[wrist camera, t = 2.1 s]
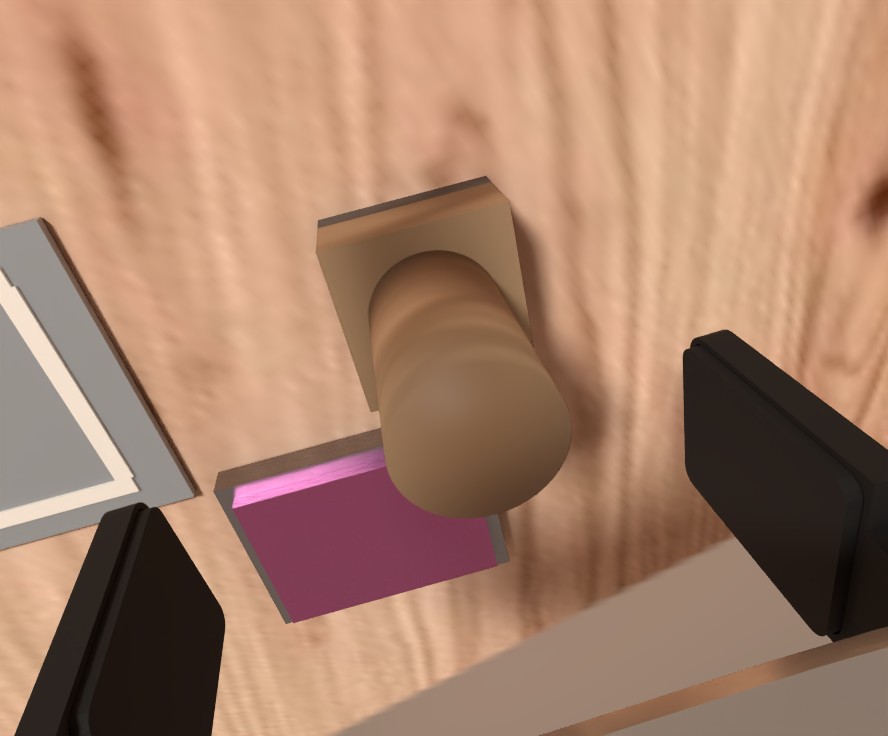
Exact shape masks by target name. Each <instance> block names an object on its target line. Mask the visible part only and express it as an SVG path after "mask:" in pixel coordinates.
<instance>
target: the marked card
mask: <svg viewBox="0 0 888 736" xmlns="http://www.w3.org/2000/svg"><path fill="white" fill-rule="evenodd" d="M195 493H196V490H195V488H194V487H193V485H192V483H191V481H190V480H189V478H188V476H187V474H186V472H185V471H184V469H183V467H182V465H181V464H180V462H179V460H178V458H177V457H176V455H175V453H174V451H173V449H172V448H171V446H170V444H169V442H168V441H167V439H166V437H165V435H164V434H163V432H162V430H161V428H160V427H159V425H158V423H157V421H156V419H155V418H154V416H153V414H152V412H151V411H150V409H149V407H148V405H147V404H146V402H145V400H144V398H143V397H142V395H141V393H140V391H139V389H138V388H137V386H136V384H135V382H134V381H133V379H132V377H131V375H130V374H129V372H128V370H127V368H126V366H125V365H124V363H123V361H122V359H121V358H120V356H119V354H118V352H117V351H116V349H115V347H114V345H113V344H112V342H111V340H110V338H109V336H108V335H107V333H106V331H105V329H104V328H103V326H102V324H101V322H100V321H99V319H98V317H97V315H96V314H95V312H94V310H93V308H92V306H91V305H90V303H89V301H88V299H87V298H86V296H85V294H84V292H83V291H82V289H81V287H80V285H79V283H78V282H77V280H76V278H75V276H74V275H73V273H72V271H71V269H70V268H69V266H68V264H67V262H66V261H65V259H64V257H63V255H62V253H61V252H60V250H59V248H58V246H57V245H56V243H55V241H54V239H53V238H52V236H51V234H50V232H49V231H48V229H47V227H46V225H45V223H44V222H43V220H42V218H41V217H40V218H36V219H32V220H28V221H25V222H21V223H17V224H13V225H9V226H6V227H2V228H0V550H2V549H6V548H9V547H13V546H17V545H20V544H24V543H28V542H31V541H35V540H39V539H42V538H46V537H49V536H53V535H57V534H60V533H64V532H68V531H71V530H75V529H79V528H82V527H86V526H90V525H93V524H97V523H100V520H101V518H102V516H103V515H104V514H105V513H106V512H108V511H111V510H115V509H118V508H121V507H125V506H128V505H132V504H135V503H138V502H143V503H145V504H146V505H147V506H148V507H149V508H152V507H159V506H162V505H166V504H170V503H173V502H177V501H181V500H184V499H188V498H192V497H194V496H195Z"/></svg>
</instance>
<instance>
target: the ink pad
mask: <svg viewBox="0 0 888 736" xmlns="http://www.w3.org/2000/svg"><path fill="white" fill-rule="evenodd" d="M214 493H215V495H216V497H217V499H218V501H219V502H220V504H221V506H222V508H223V510H224V512H225V513H226V515H227V517H228V519H229V521H230V523H231V524H232V526H233V528H234V530H235V532H236V534H237V535H238V537H239V539H240V541H241V543H242V544H243V546H244V548H245V550H246V552H247V554H248V555H249V557H250V559H251V561H252V563H253V565H254V566H255V568H256V570H257V572H258V574H259V576H260V577H261V579H262V581H263V583H264V585H265V587H266V588H267V590H268V592H269V594H270V596H271V597H272V599H273V601H274V603H275V605H276V607H277V608H278V610H279V612H280V614H281V616H282V618H283V619H284V621H285V623H286V624H287V623H291V622H293V623H296V622H299V621H303V620H306V619H310V618H313V617H317V616H321V615H324V614H328V613H331V612H335V611H338V610H342V609H346V608H349V607H353V606H356V605H360V604H363V603H367V602H371V601H374V600H378V599H381V598H385V597H388V596H392V595H396V594H399V593H403V592H406V591H410V590H413V589H417V588H421V587H424V586H428V585H431V584H435V583H438V582H442V581H446V580H449V579H453V578H456V577H460V576H463V575H467V574H471V573H474V572H478V571H481V570H485V569H488V568H492V567H496V566H498V564H502V563H505V562H509V558H508V554H507V549H506V545H505V541H504V537H503V533H502V528H501V524H500V520H499V516H498V514H495V515H491V516H486V517H480V518H463V519H462V518H450V517H445V516H440V515H437V514H434V513H430V512H428V511H426V510H424V509H421V508H419V507H418V506H416V505H415V504H413V503H411V502H410V501H409V500H408V499H407V498H405V497H404V496H403V495H402V494H401V493H400V491H399V490H398V489H397V488H396V486H395V485H394V483H393V482H392V480H391V478H390V475H389V473H388V470H387V467H386V463H385V455H384V447H383V438H382V430H381V428H379V429H376V430H372V431H369V432H365V433H361V434H358V435H354V436H350V437H347V438H343V439H339V440H336V441H332V442H328V443H325V444H321V445H317V446H314V447H310V448H306V449H303V450H299V451H295V452H292V453H288V454H284V455H281V456H277V457H274V458H270V459H266V460H263V461H259V462H255V463H252V464H248V465H244V466H241V467H237V468H233V469H230V470H226V471H222V472H219V473H218V476H217V480H216V484H215V488H214Z"/></svg>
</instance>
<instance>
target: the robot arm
mask: <svg viewBox="0 0 888 736" xmlns="http://www.w3.org/2000/svg"><path fill="white" fill-rule="evenodd" d="M683 389H684V434H685V466H686V471H687V474H688V477H689V479H690V481H691V482H692V484H693V485H694V486H695V488H696V489H697V490H698V491H699V493H700V494H701V495H702V496H703V497H704V499H705V500H706V501H707V502H708V504H709V505H710V506H711V507H712V509H713V510H714V511H715V512H716V513H717V515H718V516H719V517H720V518H721V520H722V521H723V522H724V523H725V524H726V526H727V527H728V528H729V529H730V531H731V532H732V533H733V534H734V535H735V537H736V538H737V539H738V540H739V542H740V543H741V544H742V545H743V547H744V548H745V549H746V550H747V551H748V553H749V554H750V555H751V556H752V558H753V559H754V560H755V561H756V562H757V564H758V565H759V566H760V567H761V569H762V570H763V571H764V572H765V573H766V575H767V576H768V577H769V578H770V580H771V581H772V582H773V583H774V584H775V586H776V587H777V588H778V589H779V591H780V592H781V593H782V594H783V595H784V597H785V598H786V599H787V600H788V602H789V603H790V604H791V605H792V607H793V608H794V609H795V610H796V612H797V613H798V614H799V615H800V616H801V618H802V619H803V620H804V621H805V623H806V624H807V625H808V626H809V627H810V628H811V629H812V631H813V632H815V633H816V634H817V635H819V636H825V635H827V636H828V637H829V638H830V639H831V640H832V641H833V643H830V644H826V645H823V646H820V647H817V648H813V649H810V650H806V651H803V652H800V653H796V654H793V655H790V656H786V657H783V658H780V659H777V660H774V661H770V662H767V663H764V664H761V665H758V666H754V667H751V668H748V669H745V670H742V671H739V672H736V673H733V674H729V675H727V676H723V677H720V678H717V679H714V680H711V681H707V682H705V683H701V684H698V685H695V686H692V687H689V688H686V689H683V690H679V691H676V692H673V693H670V694H667V695H664V696H661V697H657V698H654V699H651V700H648V701H645V702H642V703H639V704H635V705H632V706H629V707H626V708H623V709H620V710H617V711H614V712H611V713H608V714H604V715H601V716H598V717H595V718H592V719H589V720H586V721H583V722H580V723H577V724H574V725H571V726H568V727H564V728H561V729H558V730H555V731H552V732H549V733H546V734H543V735H540V736H888V450H887V449H886V448H884V447H883V446H882V445H880V444H879V443H878V442H877V441H875V440H874V439H873V438H871V437H870V436H869V435H867V434H866V433H865V432H863V431H862V430H861V429H859V428H858V427H857V426H855V425H854V424H853V423H851V422H850V421H849V420H847V419H846V418H845V417H843V416H842V415H841V414H840V413H838V412H837V411H836V410H834V409H833V408H832V407H830V406H829V405H828V404H826V403H825V402H824V401H822V400H821V399H820V398H818V397H817V396H816V395H814V394H813V393H812V392H810V391H809V390H808V389H806V388H805V387H804V386H803V385H801V384H800V383H799V382H797V381H796V380H795V379H793V378H792V377H791V376H789V375H788V374H787V373H785V372H784V371H783V370H781V369H780V368H779V367H777V366H776V365H775V364H773V363H772V362H771V361H769V360H768V359H767V358H766V357H764V356H763V355H762V354H760V353H759V352H758V351H756V350H755V349H754V348H752V347H751V346H750V345H748V344H747V343H746V342H744V341H743V340H742V339H740V338H739V337H738V336H736V335H735V334H734V333H732V332H731V331H729V330H721V331H718V332H714V333H711V334H708V335H704V336H701V337H697V338H695V339H693V340H692V342H691V346H690V348H689V349H686V350H685V351H684V353H683ZM224 634H225V618H224V614H223V610H222V608H221V606H220V604H219V603H218V601H217V600H216V598H215V596H214V595H213V593H212V592H211V590H210V588H209V587H208V585H207V584H206V582H205V580H204V579H203V577H202V576H201V574H200V572H199V571H198V569H197V568H196V566H195V564H194V563H193V561H192V560H191V558H190V556H189V555H188V553H187V552H186V550H185V548H184V547H183V545H182V544H181V542H180V540H179V539H178V537H177V536H176V534H175V532H174V531H173V529H172V527H171V526H170V524H169V523H168V521H167V519H166V518H165V516H164V515H163V513H162V512H161V510H160V509H159V508H157V507H152V508H149V507H148V506H147V505H146V504H145V503H143V502H138V503H135V504H132V505H128V506H125V507H121V508H118V509H115V510H111V511H108V512H106V513H105V514H104V515H103V516H102V518H101V520H100V523H99V525H98V528H97V530H96V533H95V535H94V538H93V540H92V543H91V545H90V548H89V550H88V553H87V555H86V558H85V560H84V563H83V565H82V568H81V570H80V573H79V575H78V578H77V580H76V583H75V585H74V588H73V590H72V593H71V595H70V598H69V600H68V603H67V605H66V608H65V610H64V613H63V615H62V618H61V620H60V623H59V625H58V628H57V630H56V633H55V635H54V638H53V640H52V643H51V645H50V648H49V650H48V653H47V655H46V658H45V660H44V663H43V665H42V668H41V670H40V673H39V675H38V678H37V680H36V683H35V685H34V688H33V690H32V693H31V695H30V698H29V700H28V703H27V705H26V708H25V710H24V713H23V715H22V718H21V720H20V723H19V725H18V728H17V730H16V733H15V735H14V736H211V734H212V727H213V719H214V711H215V703H216V696H217V688H218V680H219V672H220V665H221V657H222V649H223V641H224Z"/></svg>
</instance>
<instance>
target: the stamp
mask: <svg viewBox="0 0 888 736" xmlns="http://www.w3.org/2000/svg"><path fill="white" fill-rule="evenodd" d="M316 254H317V257H318V260H319V262H320V265H321V268H322V271H323V274H324V277H325V280H326V283H327V286H328V289H329V292H330V294H331V297H332V300H333V303H334V306H335V309H336V312H337V315H338V318H339V321H340V324H341V326H342V329H343V332H344V335H345V338H346V341H347V344H348V347H349V350H350V353H351V356H352V358H353V361H354V364H355V367H356V370H357V373H358V376H359V379H360V382H361V385H362V388H363V390H364V393H365V396H366V399H367V402H368V405H369V408H370V411H371V412H374V411H378V410H379V413H380V421H381V430H382V438H383V447H384V455H385V463H386V467H387V470H388V473H389V475H390V478H391V480H392V482H393V483H394V485H395V486H396V488H397V489H398V490H399V491H400V493H401V494H402V495H403V496H404V497H405V498H407V499H408V500H409V501H410V502H411V503H413V504H415V505H416V506H418V507H419V508H421V509H424V510H426V511H428V512H430V513H434V514H437V515H440V516H445V517H450V518H462V519H463V518H480V517H486V516H491V515H495V514H499V513H502V512H505V511H508V510H510V509H512V508H514V507H517V506H519V505H521V504H522V503H524V502H526V501H528V500H529V499H531V498H532V497H533V496H535V495H536V494H538V493H539V492H540V491H541V490H542V489H543V488H544V487H546V486H547V484H548V483H549V482H550V481H551V480H552V479H553V478H554V477H555V475H556V474H557V472H558V471H559V470H560V468H561V466H562V464H563V463H564V461H565V459H566V456H567V454H568V451H569V447H570V443H571V437H572V421H571V417H570V412H569V409H568V407H567V404H566V402H565V400H564V399H563V397H562V395H561V394H560V392H559V390H558V389H557V387H556V385H555V383H554V382H553V380H552V378H551V377H550V375H549V373H548V372H547V370H546V368H545V367H544V365H543V363H542V362H541V360H540V358H539V357H538V355H537V353H536V352H535V350H534V346H533V340H532V334H531V328H530V322H529V316H528V310H527V304H526V298H525V292H524V286H523V280H522V275H521V269H520V263H519V257H518V251H517V245H516V239H515V233H514V227H513V221H512V215H511V209H510V203H509V200H508V199H507V198H506V197H505V196H504V195H503V194H502V193H501V192H500V191H499V189H498V188H497V187H496V186H495V185H494V184H493V183H492V182H491V181H490V180H489V179H488V178H487V176H483V177H480V178H476V179H472V180H468V181H465V182H461V183H457V184H453V185H450V186H446V187H442V188H438V189H435V190H431V191H427V192H423V193H419V194H416V195H412V196H408V197H404V198H401V199H397V200H393V201H389V202H386V203H382V204H378V205H374V206H371V207H367V208H363V209H359V210H355V211H352V212H348V213H344V214H340V215H337V216H333V217H329V218H325V219H322V220H318V230H317V246H316Z"/></svg>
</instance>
